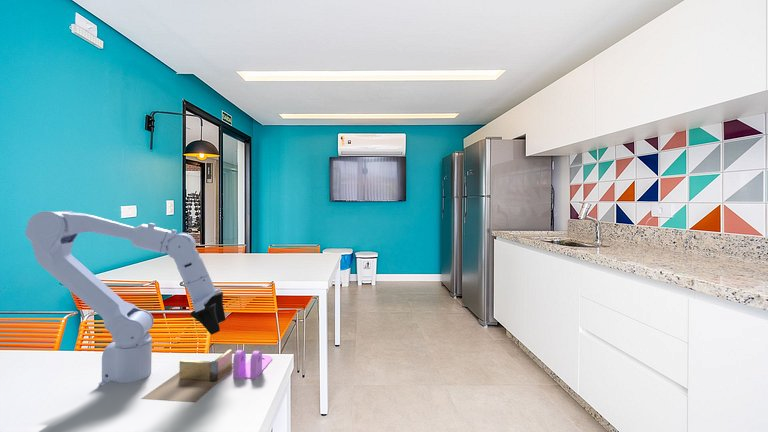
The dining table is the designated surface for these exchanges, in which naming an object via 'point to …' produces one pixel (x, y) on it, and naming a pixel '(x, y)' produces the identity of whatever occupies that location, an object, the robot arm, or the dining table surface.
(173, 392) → the walnut board
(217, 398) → the dining table surface
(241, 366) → the bracket
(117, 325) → the robot arm
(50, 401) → the dining table surface
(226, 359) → the fixed leaf
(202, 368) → the swing leaf
